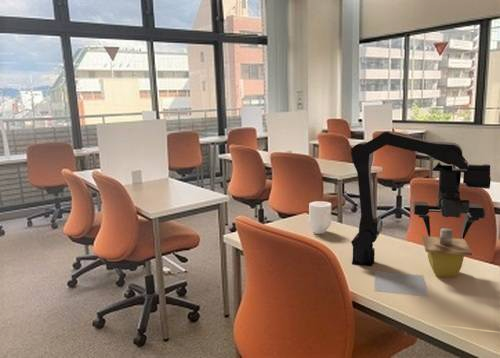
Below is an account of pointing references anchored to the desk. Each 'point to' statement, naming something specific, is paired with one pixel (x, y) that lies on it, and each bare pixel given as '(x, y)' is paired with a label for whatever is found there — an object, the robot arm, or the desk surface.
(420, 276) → the tray
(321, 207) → the mug
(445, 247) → the lid
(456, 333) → the desk surface
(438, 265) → the flower pot
